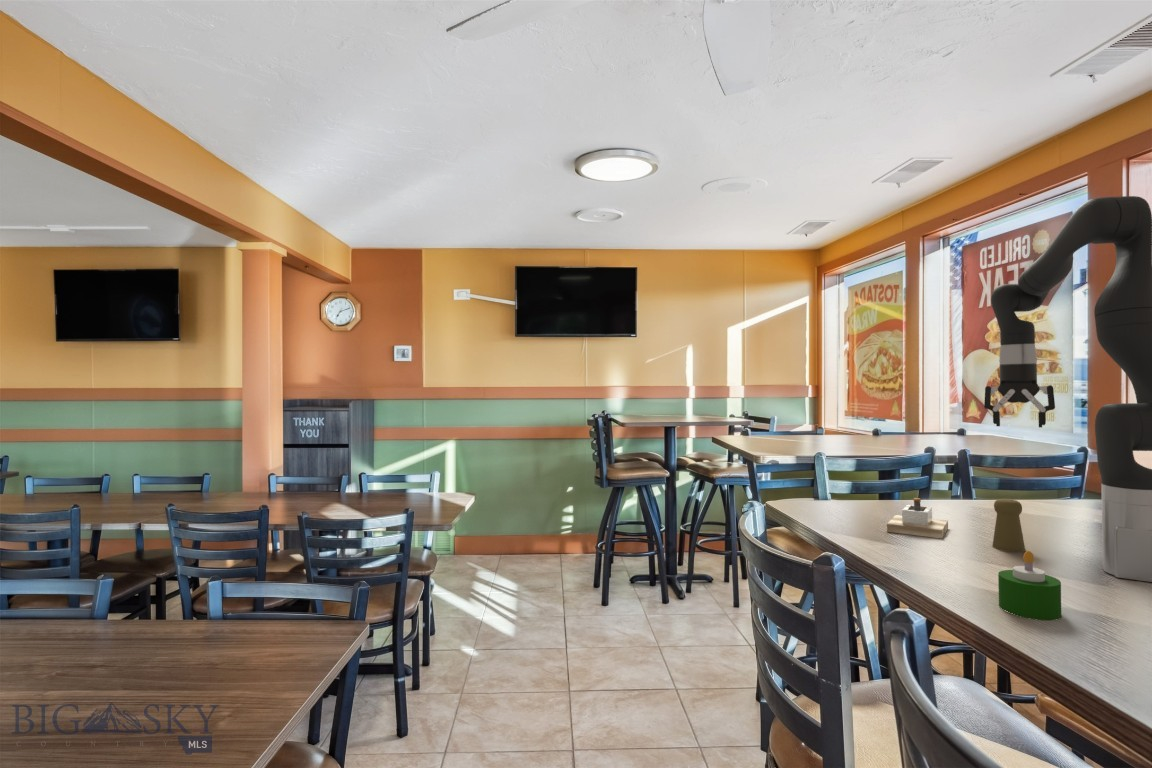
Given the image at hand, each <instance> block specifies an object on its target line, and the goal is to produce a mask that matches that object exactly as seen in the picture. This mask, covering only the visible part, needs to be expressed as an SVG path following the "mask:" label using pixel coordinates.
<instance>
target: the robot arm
mask: <svg viewBox="0 0 1152 768" xmlns="http://www.w3.org/2000/svg"><path fill="white" fill-rule="evenodd" d="M1088 244H1089V245H1090V244H1095V245H1101V244H1114V248H1115V268H1114V271H1113V274H1112V276H1111V278H1110V279H1109V281H1108V282H1107V283H1106V285H1105V287H1104V288H1103V290H1102V292H1101V293H1100V295H1099V297H1098V298H1097V301H1096V303H1095V306H1094V310H1093V311H1094V322H1095V330H1096V337H1097V341H1098V343H1099V344H1100V345H1099V346H1101V348H1102V349H1103V350H1104V351H1105V353H1106V354H1107V355H1108V356H1109V357H1110V358H1111V359H1112V360H1113V362H1115V363H1116V364H1117V365H1118V366H1119V367H1120V369H1121V370H1122V371H1123V372H1124V373H1125V374H1126V376H1127V377H1128V379H1129V381H1130V382H1131V384H1132V388H1133V391H1134V394H1135V399H1136V403H1135V402H1134V403H1133V402H1132V403H1124V402H1123V403H1121V402H1120V403H1108V404H1104V405H1102V406H1101V407H1100V408H1099V410H1098V411H1097V412H1096V415H1095V419H1094V420H1095V421H1094V435H1095V446H1096V456H1097V458H1096V459H1097V467H1098V471H1099V474H1100V482H1101V484H1100V485H1101V539H1102V540H1101V542H1102V543H1101V544H1102V545H1101V546H1102V547H1101V548H1102V550H1101V551H1102V571H1104V572H1106V573H1107V574H1110V575H1113V576H1114V577H1116V578H1119V579H1128V580H1134V581H1135V580H1136V581H1142V582H1148V583H1152V468H1149V467H1146V466H1144V465H1141V464H1140V463H1138V462H1137V461H1136V459H1135V456H1134V452H1135V451H1136V452H1152V211H1151V207H1150V204H1149V203H1148V201H1147V200H1146V199H1145V198H1143V197H1141V196H1134V195H1127V196H1125V195H1123V196H1101V197H1094V198H1091V199H1088V200H1086V201H1085V202H1083V203H1082V204H1081V205H1080V206H1079V207H1077V209H1076V210H1075V211H1074V212H1073V213H1072V214H1071V216H1070V217H1068V220H1067V221H1066V223H1065V224H1064V225H1063V226H1062V228H1061V229H1060V231H1059V232H1058V233H1057V235H1056V236H1055V237H1054V238H1053V240H1052V241H1051V243H1050V244H1049V246H1048V247H1047V249H1045V250H1044V252H1043V253H1042V254H1041V255H1040V256H1039V257H1038V258H1037V259H1036V260H1035V261H1034V262H1032V264H1030V265H1029V266H1028V267H1026V268H1025V269H1024V271H1023V272H1021V274H1020V275H1019V277H1018V280H1017V283H1005V284H1000V285H998V286H997V287H996V288H995V289H994V290H993V291H992V294H991V297H990V303H991V308H992V310H993V313H994V316H995V318H996V321H997V325H998V327H999V333H1000V334H999V335H1000V336H999V337H1000V338H999V339H1000V341H999V342H1000V346H999V347H1000V348H999V355H998V356H999V359H998V361H999V385H998V386H991V385H986V386H985V388H984V403H983V405H984V406H983V407H984V409H985V410H988V411H991V412H992V423H993V424H994V425H996V427H1001V412H1000V410H1001V408H1002V407H1003V406H1004V405H1005V404H1006V403H1011V404H1016V403H1022V404H1025V403H1029V402H1031V404H1032V405H1033V406H1035V407H1036V408H1037V409H1038V413H1037V414H1038V428H1043V426H1045V425H1046V423H1047V422H1046V420H1047V419H1046V417H1047V416H1046V413H1047V412H1049V411H1053V410H1055V409H1056V404H1055V403H1056V401H1055V392H1054V386H1053V385H1050V384H1049V385H1042V386H1040V385H1038V372H1037V371H1038V370H1037V369H1038V363H1037V361H1038V358H1037V356H1038V355H1037V349H1036V337H1035V335H1036V334H1035V331H1036V328H1035V324H1034V323H1033V322H1032V321H1028V320H1023V319H1020V318H1019V317H1018V316H1017V314H1016V313H1018V312H1031V311H1034V310H1036V309H1038V308H1040V306H1042V305H1043V303H1044V301H1045V299H1046V298H1047V296H1048V294H1049V293H1050V291H1051V290H1052V289H1053V288H1055V286H1057V285H1058V284H1059V283H1061V282H1062V281H1063V280H1064V279H1065V278H1066V277H1068V275H1069V273H1070V272H1071V270H1072V268H1073V265H1074V253H1075V252H1077V251H1078V250H1080V249H1082V248H1083V247H1085V246H1086V245H1088ZM1039 391H1042V393H1043V395H1046V396H1047V405H1045V406H1044V405H1043V404H1042V403H1041V402H1040V401H1039V400H1038V399H1037V398H1036V397H1035V396H1036V395H1037V394H1038V393H1039ZM996 392H998V393H999V394H1000V395H1001V396H1002V397H1001V399H1000V400H999V401H998V402H997V403H996V404H995V405H992V404H991V402H992V396H993V395H995V393H996Z"/></svg>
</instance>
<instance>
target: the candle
mask: <svg viewBox="0 0 1152 768" xmlns="http://www.w3.org/2000/svg"><path fill="white" fill-rule="evenodd" d="M1022 560H1023V562H1024V565H1016V566H1013V567H1012V569H1004V570H1001V571H999V572H998V574H997V575H998V576H997V577H998V578H997V579H998V580H997V582H998V583H997V584H998V607H999V606H1000V607H1001V608H1002V609H1004V610H1006V611H1008V612H1010V613H1013V614H1015V615H1014V616H1016V615H1018V616H1017V617H1020V616H1021V617H1020V618H1025V619H1029V618H1030V619H1029V620H1035V619H1037V621H1057V620H1056V619H1058V620H1060V619H1061V618H1062V582H1061V580H1059V579H1058V578H1056V577H1054V576H1051V575H1048V574H1046V572H1045V570H1043V569H1040V568H1038V567H1034V560H1035V558H1034V555H1033V552H1032V551H1030V550H1025V552H1024V554H1023V556H1022ZM1000 607H999V608H1000ZM1001 608H1000V609H1001ZM1002 609H1001V610H1002ZM1004 610H1003V611H1004ZM1006 611H1005V612H1006ZM1008 612H1007V613H1008ZM1010 613H1009V614H1010ZM1013 614H1012V615H1013ZM1059 618H1060V619H1059Z"/></svg>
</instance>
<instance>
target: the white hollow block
mask: <svg viewBox="0 0 1152 768" xmlns="http://www.w3.org/2000/svg"><path fill="white" fill-rule="evenodd" d="M901 514H902V524H909V525H918V526H926V527H928V526H929V524H930V523H931V521H932V519H933V506H929V505H926V506H925V505H920V511H915V510H914V504H906V505H905V506H904V507H903V509H901Z"/></svg>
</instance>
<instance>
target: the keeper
mask: <svg viewBox="0 0 1152 768" xmlns="http://www.w3.org/2000/svg"><path fill="white" fill-rule="evenodd" d="M913 505H914V510H915V511H920V506H921V498H919V497H913ZM948 528H949V520H947V519H946V520H945V519H938V518H932V521H931V523H930V524H929V526H928V527H926V526H918V525H909V524H902V515H900V514H895V515H894V516H893V517H892V518H891V519H890V520H889V521H888V522H887V523H886V532H889V533H896V534H904V535H911V536H912V535H913V536H919V537H920V536H921V537H929V538H936V539H943V537H944V536H945V534H946V532H947V531H948Z"/></svg>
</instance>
